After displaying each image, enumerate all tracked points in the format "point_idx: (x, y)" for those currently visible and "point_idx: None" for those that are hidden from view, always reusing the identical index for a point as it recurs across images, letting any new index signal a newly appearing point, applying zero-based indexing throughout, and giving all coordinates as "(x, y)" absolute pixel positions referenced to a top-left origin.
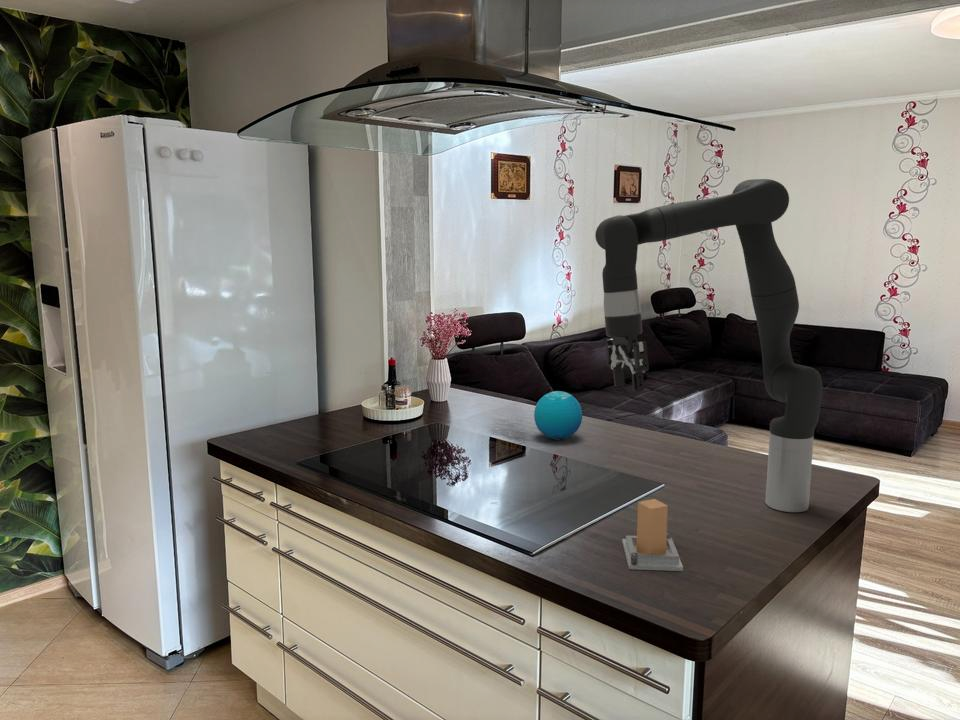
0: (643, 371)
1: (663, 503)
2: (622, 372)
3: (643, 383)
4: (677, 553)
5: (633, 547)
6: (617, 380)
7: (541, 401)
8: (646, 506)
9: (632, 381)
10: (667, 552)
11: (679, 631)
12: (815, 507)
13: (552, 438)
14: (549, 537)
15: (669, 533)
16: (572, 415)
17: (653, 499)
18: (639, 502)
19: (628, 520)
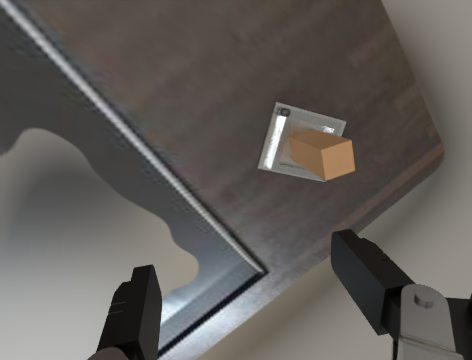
0: (457, 304)
1: (342, 143)
2: (143, 326)
3: (367, 246)
4: (335, 122)
5: (305, 170)
6: (157, 316)
7: None
8: (344, 173)
9: (356, 302)
10: (307, 124)
11: (431, 171)
12: None
13: None
14: (223, 250)
15: (284, 109)
16: None
17: (323, 153)
18: (327, 178)
19: (183, 133)
